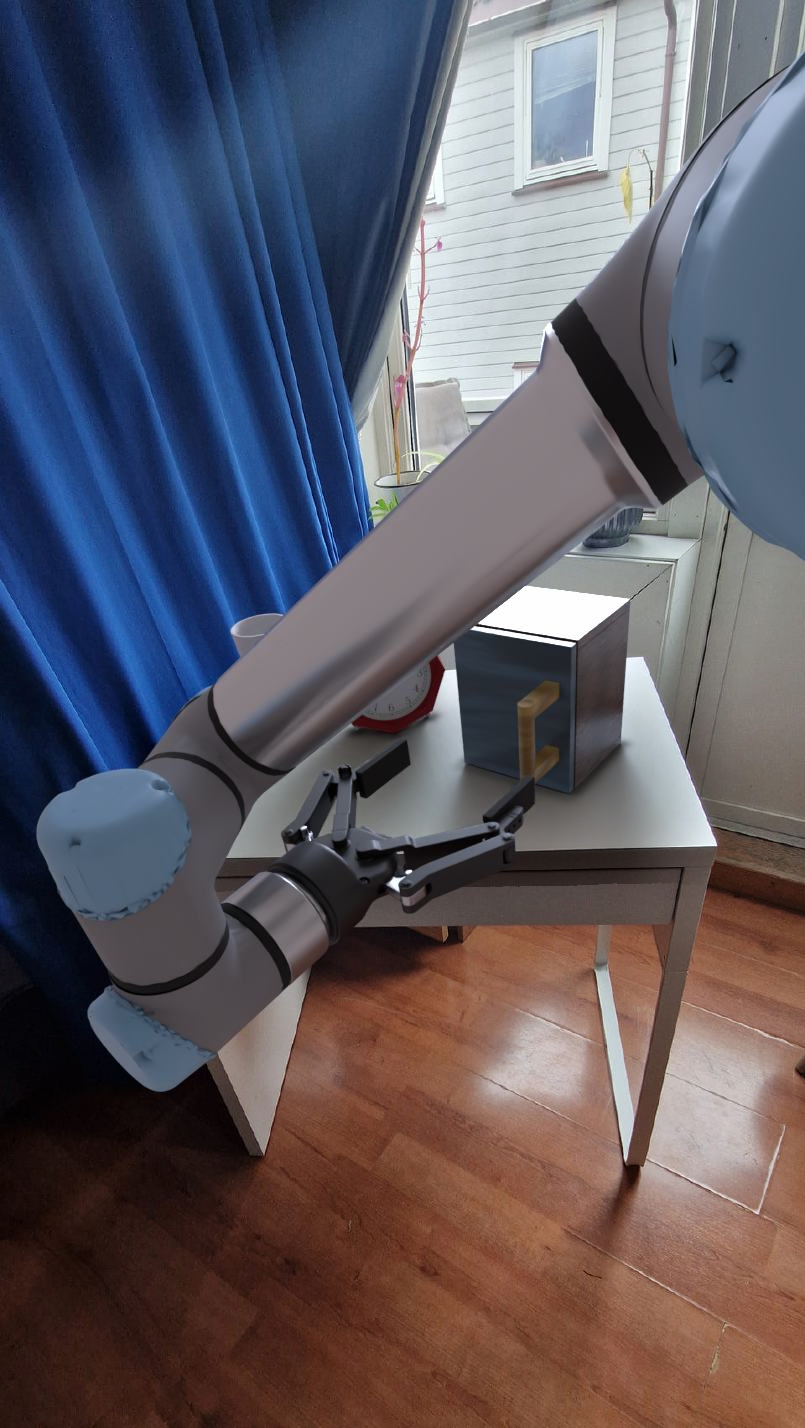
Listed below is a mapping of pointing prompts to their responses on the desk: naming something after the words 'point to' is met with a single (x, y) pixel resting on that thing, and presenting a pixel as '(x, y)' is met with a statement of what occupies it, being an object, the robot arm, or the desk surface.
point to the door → (518, 704)
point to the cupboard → (580, 659)
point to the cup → (252, 630)
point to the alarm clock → (405, 701)
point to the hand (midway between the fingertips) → (465, 769)
